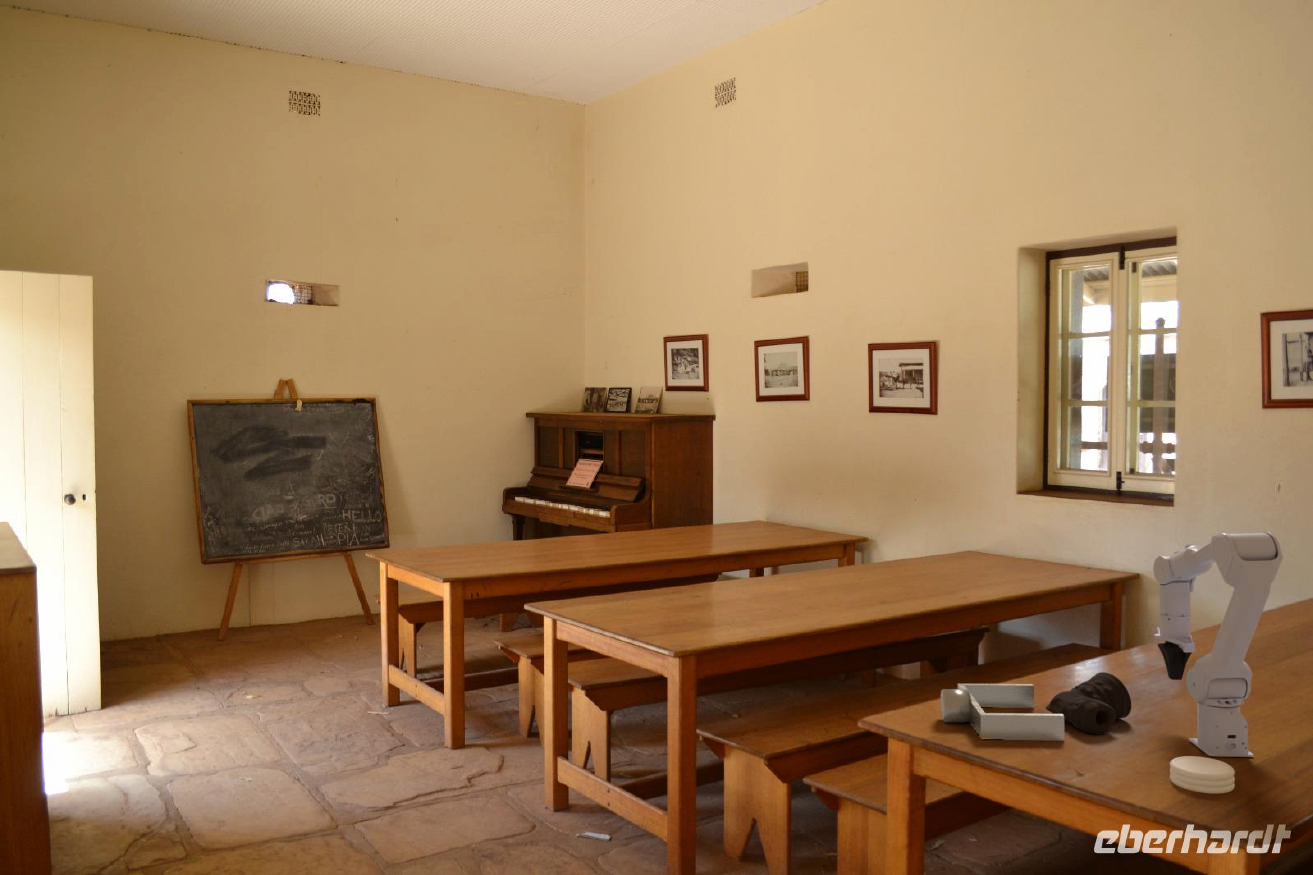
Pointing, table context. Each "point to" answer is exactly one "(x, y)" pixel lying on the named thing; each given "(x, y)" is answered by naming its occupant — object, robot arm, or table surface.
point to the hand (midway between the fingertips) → (1175, 679)
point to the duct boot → (1000, 725)
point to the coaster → (1202, 774)
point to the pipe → (1093, 703)
